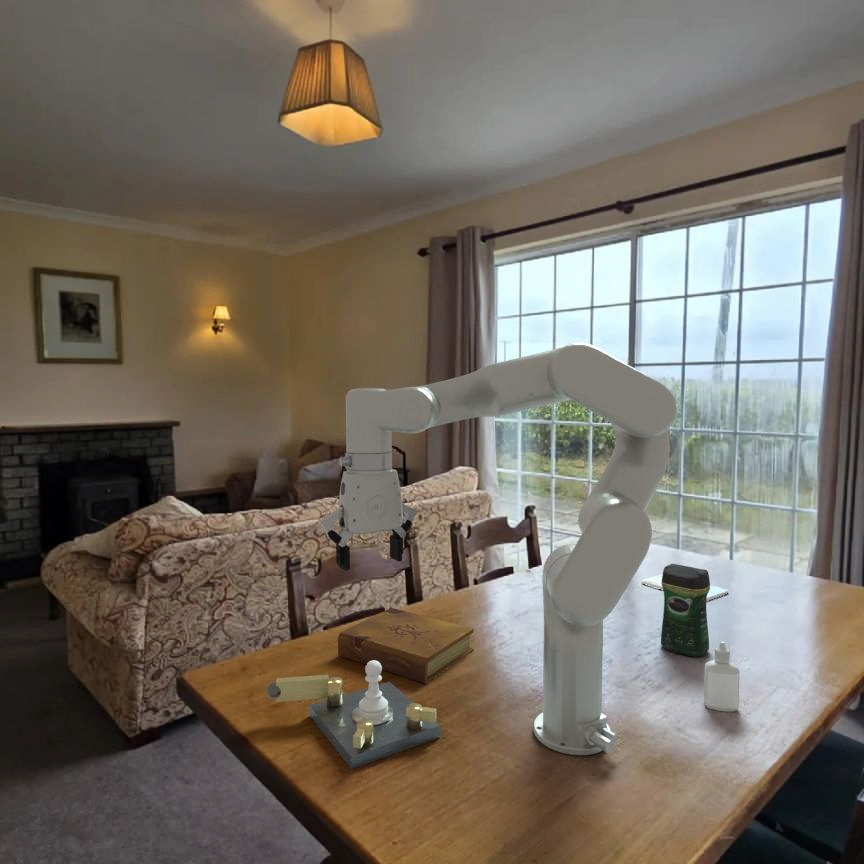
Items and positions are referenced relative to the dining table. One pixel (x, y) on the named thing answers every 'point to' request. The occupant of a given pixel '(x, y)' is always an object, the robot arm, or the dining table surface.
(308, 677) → the brass lever
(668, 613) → the coffee jar
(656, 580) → the calculator
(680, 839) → the dining table surface
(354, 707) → the levelling plate
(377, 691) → the chess pawn
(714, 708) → the eye dropper bottle
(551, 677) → the robot arm
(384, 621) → the diary
